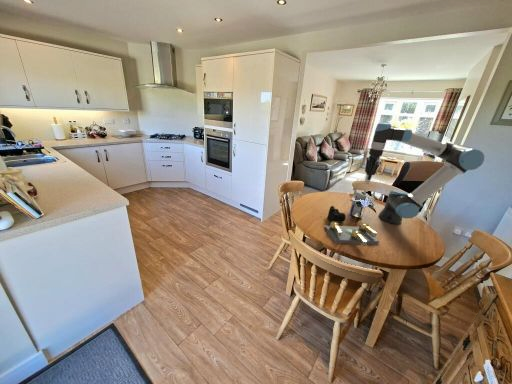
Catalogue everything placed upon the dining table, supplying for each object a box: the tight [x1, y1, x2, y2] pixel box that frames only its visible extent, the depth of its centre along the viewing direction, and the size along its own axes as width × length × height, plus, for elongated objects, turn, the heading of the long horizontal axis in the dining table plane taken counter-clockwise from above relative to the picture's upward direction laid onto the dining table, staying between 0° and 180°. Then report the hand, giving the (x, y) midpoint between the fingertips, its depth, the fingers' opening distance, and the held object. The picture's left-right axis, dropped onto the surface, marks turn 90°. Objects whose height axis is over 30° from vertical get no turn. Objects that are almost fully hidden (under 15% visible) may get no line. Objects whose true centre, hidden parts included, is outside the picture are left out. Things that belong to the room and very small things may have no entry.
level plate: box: [324, 225, 380, 245], centre depth 133 cm, size 28×16×3 cm, turn 93°
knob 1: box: [329, 221, 342, 236], centre depth 131 cm, size 12×5×4 cm, turn 179°
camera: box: [327, 205, 346, 224], centre depth 147 cm, size 14×11×10 cm
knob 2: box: [358, 222, 378, 238], centre depth 133 cm, size 12×5×4 cm, turn 12°
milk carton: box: [349, 189, 367, 217], centre depth 157 cm, size 7×7×20 cm
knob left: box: [351, 229, 368, 247], centre depth 124 cm, size 12×5×4 cm, turn 3°
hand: (366, 183), depth 140 cm, fingers closed
